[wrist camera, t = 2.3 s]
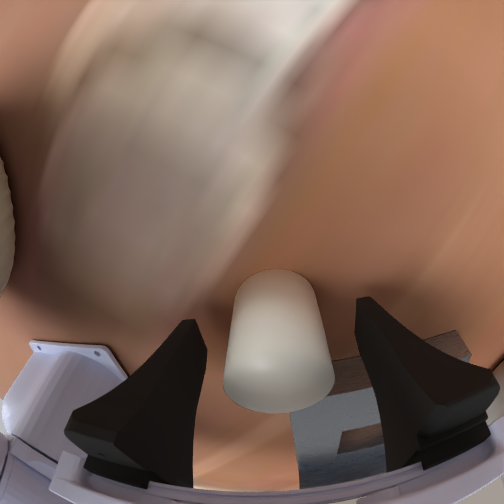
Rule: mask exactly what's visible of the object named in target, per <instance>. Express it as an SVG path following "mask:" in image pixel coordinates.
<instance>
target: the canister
mask: <svg viewBox="0 0 504 504" xmlns="http://www.w3.org/2000/svg"><path fill="white" fill-rule="evenodd" d="M14 225H15V220H14V218H13V205H12V202H11V191H10V189H9V187H8V177H7V175H6V173H5V170H4V162H3V161H2V160H1V157H0V297H1V295H2V293H3V291H4V290H5V288H6V285H7V283H8V281H9V278H10V274H11V271H12V267H13V262H14V254H15V244H14V242H15V238H16V236H15V232H14Z"/></svg>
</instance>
